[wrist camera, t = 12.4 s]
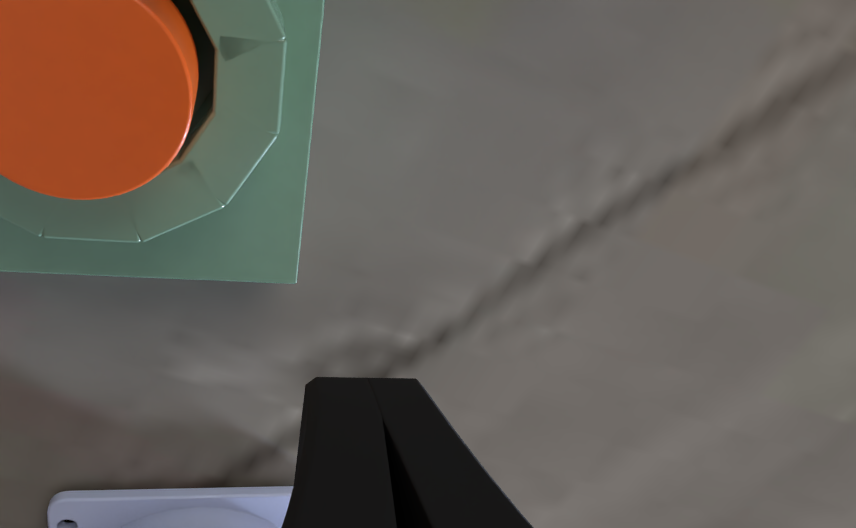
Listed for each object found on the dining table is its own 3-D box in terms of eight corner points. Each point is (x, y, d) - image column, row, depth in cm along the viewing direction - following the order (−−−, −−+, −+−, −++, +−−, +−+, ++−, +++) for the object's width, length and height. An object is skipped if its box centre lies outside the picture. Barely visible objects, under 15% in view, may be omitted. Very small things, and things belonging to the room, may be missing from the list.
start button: (196, 169, 15) (190, 208, 13) (-19, 152, 14) (-52, 193, 12) (202, -34, 13) (196, -16, 11) (-41, -68, 12) (-82, -52, 11)
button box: (292, 240, 20) (301, 328, 16) (-67, 221, 18) (-142, 315, 14) (334, -220, 15) (360, -233, 12) (-140, -317, 13) (-276, -366, 10)
